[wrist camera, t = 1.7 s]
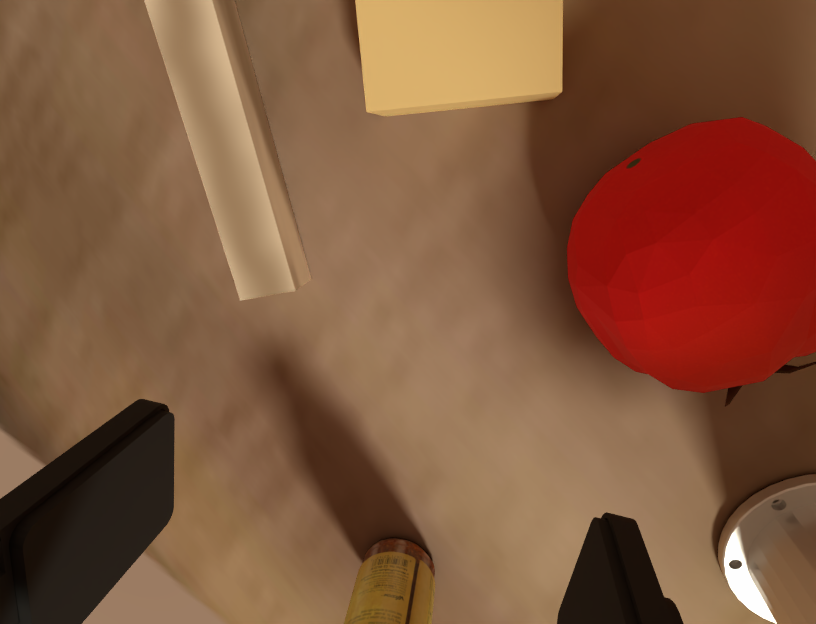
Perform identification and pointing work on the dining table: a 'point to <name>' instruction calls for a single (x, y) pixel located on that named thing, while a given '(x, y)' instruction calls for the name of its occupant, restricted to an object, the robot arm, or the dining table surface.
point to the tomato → (702, 257)
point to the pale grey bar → (231, 142)
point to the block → (458, 53)
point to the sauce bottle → (393, 585)
